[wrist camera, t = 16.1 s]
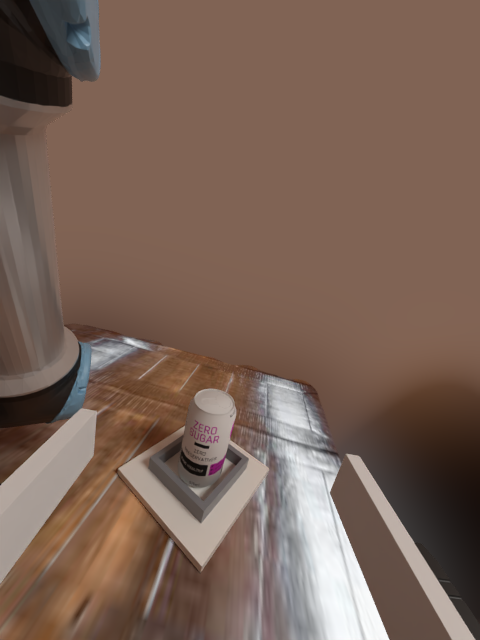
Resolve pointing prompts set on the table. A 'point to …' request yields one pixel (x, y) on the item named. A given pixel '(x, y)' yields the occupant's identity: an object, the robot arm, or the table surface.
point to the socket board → (193, 495)
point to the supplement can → (206, 437)
